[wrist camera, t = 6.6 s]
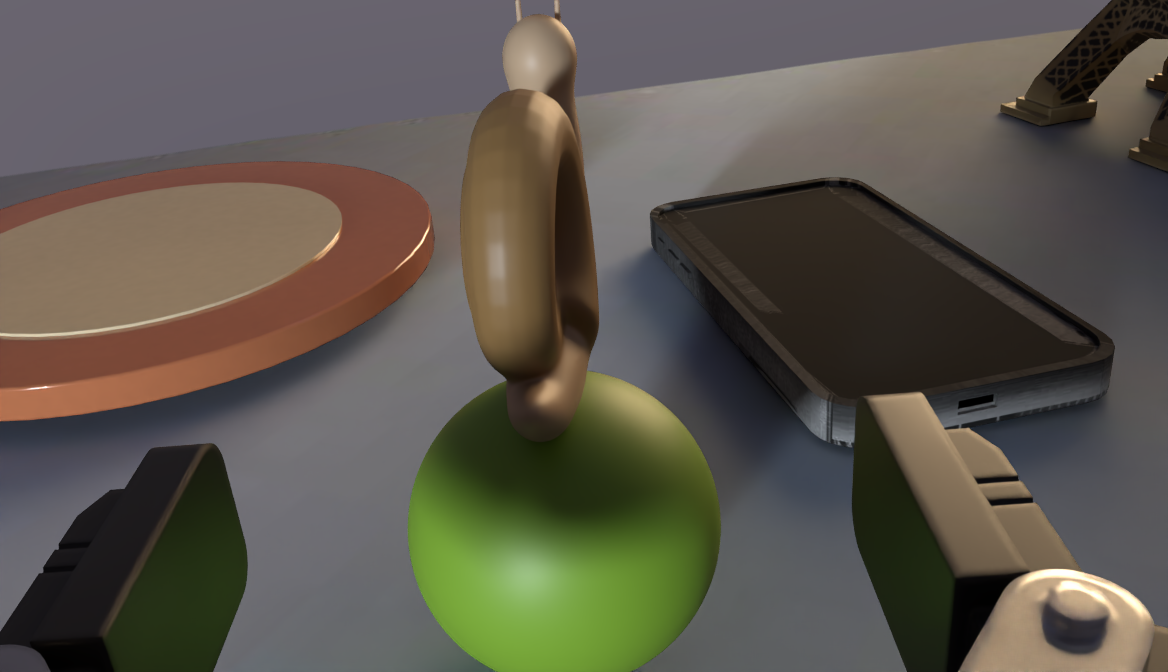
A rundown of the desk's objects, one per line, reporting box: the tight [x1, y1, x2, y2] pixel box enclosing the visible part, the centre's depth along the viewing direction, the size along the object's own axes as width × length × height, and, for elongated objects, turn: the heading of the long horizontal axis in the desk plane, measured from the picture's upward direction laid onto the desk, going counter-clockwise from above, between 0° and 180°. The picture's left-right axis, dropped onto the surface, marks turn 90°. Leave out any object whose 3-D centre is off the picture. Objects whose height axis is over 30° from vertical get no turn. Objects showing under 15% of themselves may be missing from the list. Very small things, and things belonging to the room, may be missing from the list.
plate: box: [0, 161, 435, 421], centre depth 37 cm, size 19×19×2 cm
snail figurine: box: [408, 0, 721, 672], centre depth 18 cm, size 5×6×12 cm
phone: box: [650, 177, 1115, 447], centre depth 32 cm, size 8×1×15 cm
